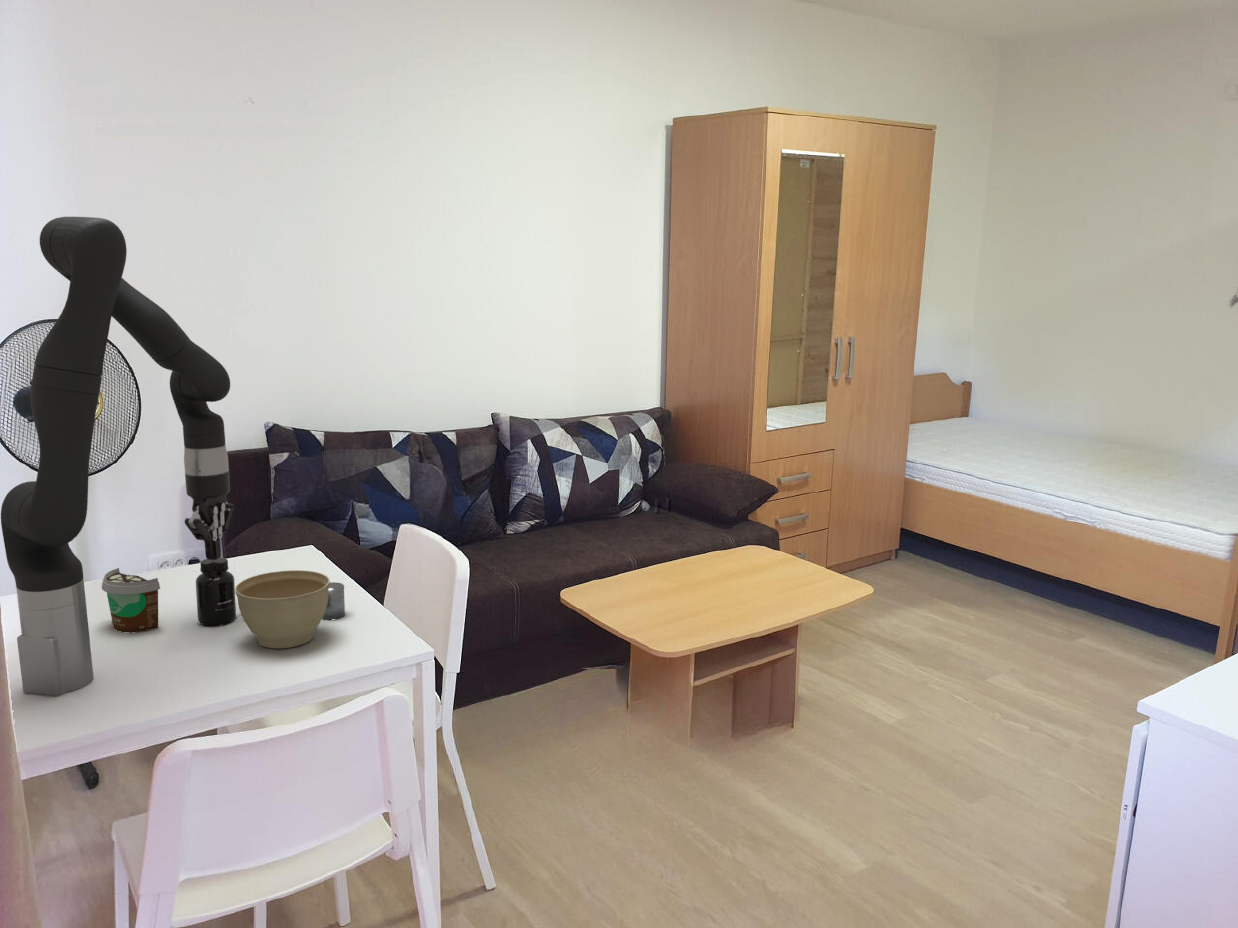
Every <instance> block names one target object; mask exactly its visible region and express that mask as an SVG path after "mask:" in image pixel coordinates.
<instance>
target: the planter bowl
mask: <svg viewBox="0 0 1238 928" xmlns="http://www.w3.org/2000/svg"><path fill="white" fill-rule="evenodd" d="M330 583H331V580H330V577H328V575H326V574H324V573H321V572H318V571H312V570H303V569H302V570H300V569H299V570H298V569H297V570H295V569H294V570H293V569H292V570H291V569H290V570H278V571H271V572H265V573H260V574H257V575H253V576H250V577H248V578H246V579H244V580H242V581H240V582H238V583H237V584H236V585H235V596H236V597H237V604H238V608H239V612H240V615H241V617H242V619H243V622H244V623H245V625H246V626H247V628H248V629H249V630H250V631H251V632H252V634H253V635H255V636H256V637H257V641H258V644H259V645H261V646H262V647H265V648H267V649H268V648H269V649H287V648H289V649H290V648H294V647H299V646H302V645H304V644H306V643H309V642H310V641H311V640H312V639H313V637H314V636H315V635H314V634H315V630H316V629H317V627H318V626H319V624H320V623H321V622H322V618H323V615H324V613H325V610H326V607H327V603H328V594H329V585H330Z"/></svg>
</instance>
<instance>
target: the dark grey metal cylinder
mask: <svg viewBox="0 0 1238 928" xmlns="http://www.w3.org/2000/svg"><path fill="white" fill-rule="evenodd" d="M345 616H346V605H345V585H344V584H343V583H342V582H335V581H334V582H331V581H330V585H329V594H328V603H327V607H326V610H325V613H324V615H323V618H322V619H323V621H333V620H332V619H336V620H340V619H342V618H344V617H345Z"/></svg>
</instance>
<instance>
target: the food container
mask: <svg viewBox="0 0 1238 928" xmlns="http://www.w3.org/2000/svg"><path fill="white" fill-rule="evenodd" d="M101 590H102V591H104V592H105V593H106V597H107V602H108V607H109V611H110V617H111V623H112V628H113V630H114V629H115V630H114V631H116V630H117V631H116V632H118V631H121V632H120V633H123V632H129V633H130V634H133V632H135V633H143V632H148V631H153V630H155V629H158V628H159V590H161V585H160V582H159V579H158V577H155V578H152V579H145V578H144V577H141V576H139V575H136V574H135V575H133V574H131V575H130V574H126V573H122V572H121V571H120V568H119V567H118V568H113V569H112V570H110V571H108V572H107V573H105V574H104V577H103V579H102V584H101ZM129 633H128V634H129Z"/></svg>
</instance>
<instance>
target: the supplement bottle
mask: <svg viewBox="0 0 1238 928" xmlns="http://www.w3.org/2000/svg"><path fill="white" fill-rule="evenodd" d="M199 563H200V572H201V574H199V575H198V576H197V577H196V579H195V594H196V609H197V610H196V611H197V621H198V623H199V624H200V625H202V626H205V627H218V626H224V625H228V624H230V623H232V622H234V620H236V617H237V607H236V591H235V588H236V585H235V584H236V583H235V576H234V575H233V573H232V572H230V571H229V560H228V559H227V558H225V557H220V558H218V559H216V560H209V559H207V558H205V559H202V560H201V561H200V562H199Z"/></svg>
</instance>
